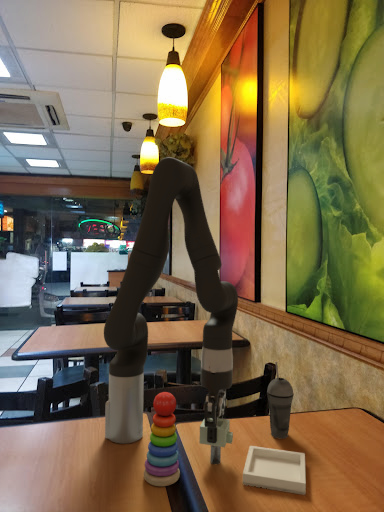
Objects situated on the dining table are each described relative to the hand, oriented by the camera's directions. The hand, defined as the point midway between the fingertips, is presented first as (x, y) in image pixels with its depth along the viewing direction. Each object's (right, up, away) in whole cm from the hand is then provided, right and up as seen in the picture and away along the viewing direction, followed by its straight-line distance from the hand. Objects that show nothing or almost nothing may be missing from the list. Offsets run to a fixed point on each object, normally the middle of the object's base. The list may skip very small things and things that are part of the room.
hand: (214, 435), depth 95 cm
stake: (0, -6, 0) cm, 6 cm away
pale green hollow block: (0, -1, 0) cm, 1 cm away
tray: (+13, -6, -5) cm, 16 cm away
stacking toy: (-12, -6, -7) cm, 15 cm away
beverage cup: (+19, -7, +15) cm, 25 cm away
